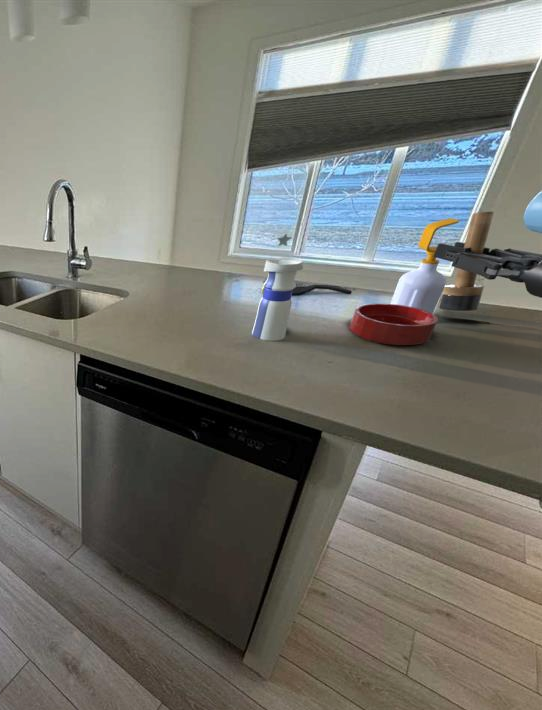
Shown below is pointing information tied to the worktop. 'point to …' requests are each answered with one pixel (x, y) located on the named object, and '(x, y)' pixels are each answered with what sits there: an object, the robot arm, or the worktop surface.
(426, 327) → the red bowl
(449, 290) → the dish brush
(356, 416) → the worktop surface
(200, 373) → the worktop surface
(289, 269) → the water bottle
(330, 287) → the hairbrush
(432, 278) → the soap bottle
